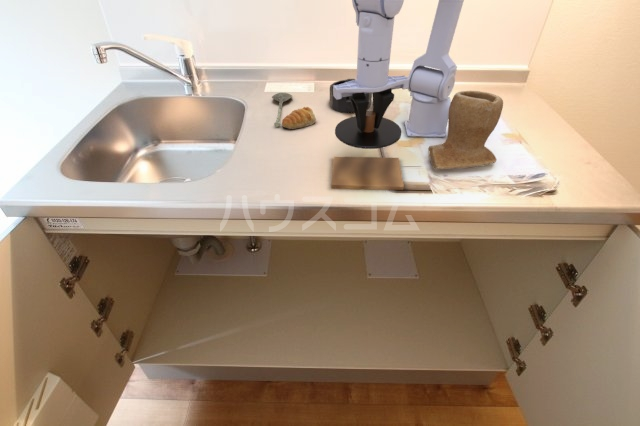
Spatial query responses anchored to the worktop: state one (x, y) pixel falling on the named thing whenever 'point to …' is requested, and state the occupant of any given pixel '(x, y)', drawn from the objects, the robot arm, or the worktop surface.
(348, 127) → the lid
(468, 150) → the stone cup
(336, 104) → the pot
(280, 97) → the soupspoon
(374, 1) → the robot arm
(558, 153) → the worktop surface
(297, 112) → the pastry
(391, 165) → the board
